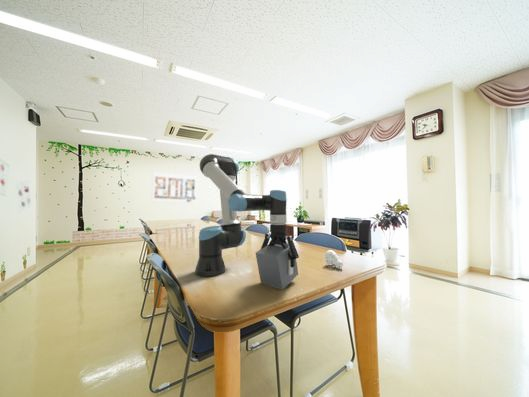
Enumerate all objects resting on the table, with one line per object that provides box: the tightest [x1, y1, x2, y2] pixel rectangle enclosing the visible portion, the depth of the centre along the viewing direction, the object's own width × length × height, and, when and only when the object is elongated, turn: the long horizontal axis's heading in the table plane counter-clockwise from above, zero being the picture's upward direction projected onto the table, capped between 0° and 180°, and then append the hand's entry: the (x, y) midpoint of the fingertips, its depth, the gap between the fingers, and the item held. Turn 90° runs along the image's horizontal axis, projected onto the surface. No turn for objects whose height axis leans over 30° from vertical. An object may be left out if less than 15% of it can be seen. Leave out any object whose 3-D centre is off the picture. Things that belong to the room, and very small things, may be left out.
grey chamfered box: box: [255, 243, 299, 291], centre depth 92 cm, size 12×13×15 cm
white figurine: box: [324, 249, 344, 270], centre depth 115 cm, size 6×8×12 cm
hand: (278, 271), depth 92 cm, fingers open, 13 cm apart
